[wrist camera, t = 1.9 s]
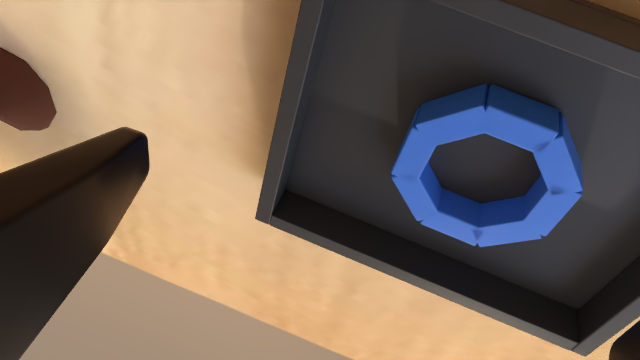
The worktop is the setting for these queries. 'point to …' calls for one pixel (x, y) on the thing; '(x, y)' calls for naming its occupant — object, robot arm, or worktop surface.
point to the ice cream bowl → (23, 95)
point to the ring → (503, 123)
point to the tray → (466, 152)
